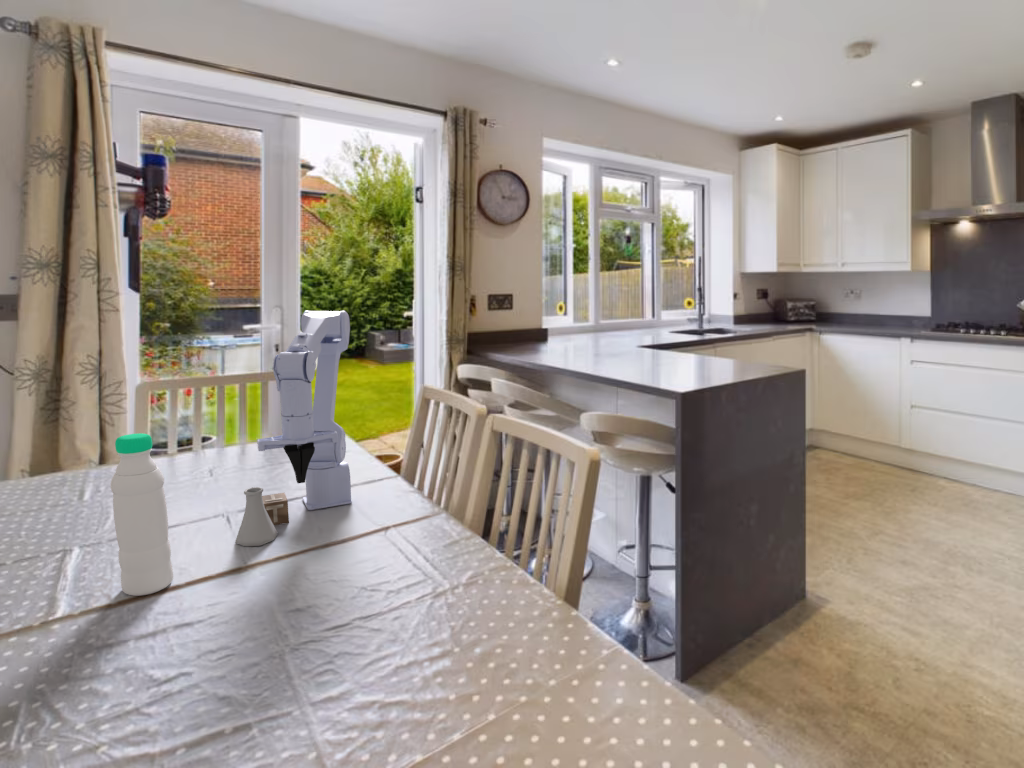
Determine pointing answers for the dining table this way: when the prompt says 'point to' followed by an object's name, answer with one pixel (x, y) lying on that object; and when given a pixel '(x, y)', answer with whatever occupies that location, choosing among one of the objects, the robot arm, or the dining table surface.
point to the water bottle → (140, 518)
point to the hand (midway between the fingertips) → (300, 481)
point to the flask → (255, 521)
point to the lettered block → (277, 508)
